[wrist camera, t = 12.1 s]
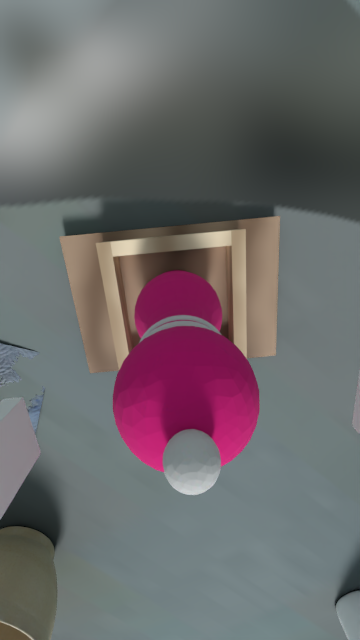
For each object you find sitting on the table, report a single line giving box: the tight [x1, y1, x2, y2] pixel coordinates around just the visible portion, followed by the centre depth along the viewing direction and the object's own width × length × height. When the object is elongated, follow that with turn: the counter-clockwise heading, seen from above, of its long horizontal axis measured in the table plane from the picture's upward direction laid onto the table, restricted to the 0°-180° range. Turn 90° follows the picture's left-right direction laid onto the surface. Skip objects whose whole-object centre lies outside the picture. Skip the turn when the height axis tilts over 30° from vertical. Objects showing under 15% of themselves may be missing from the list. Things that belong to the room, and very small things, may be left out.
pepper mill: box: [113, 270, 259, 495], centre depth 17 cm, size 7×7×20 cm
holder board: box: [60, 216, 280, 373], centre depth 26 cm, size 20×14×4 cm
